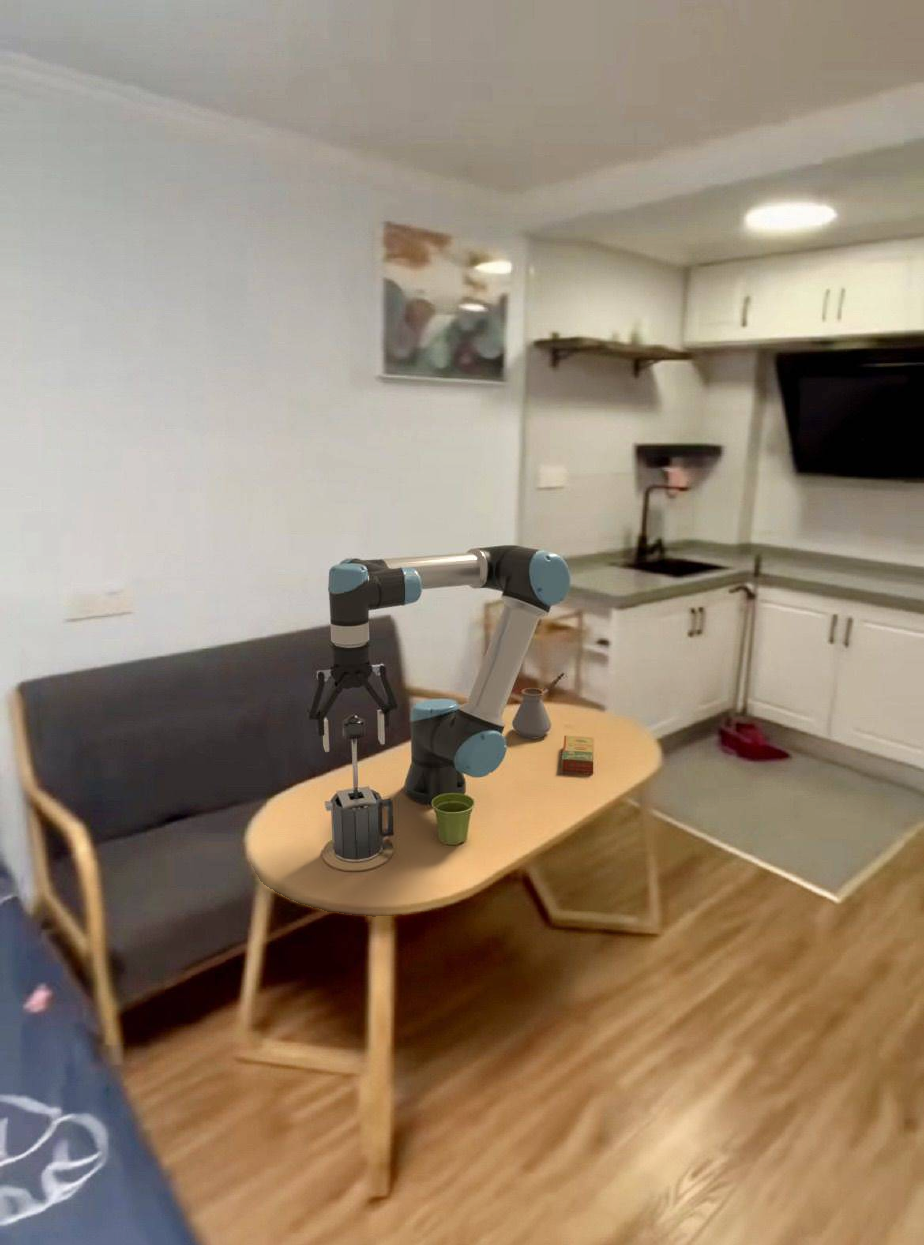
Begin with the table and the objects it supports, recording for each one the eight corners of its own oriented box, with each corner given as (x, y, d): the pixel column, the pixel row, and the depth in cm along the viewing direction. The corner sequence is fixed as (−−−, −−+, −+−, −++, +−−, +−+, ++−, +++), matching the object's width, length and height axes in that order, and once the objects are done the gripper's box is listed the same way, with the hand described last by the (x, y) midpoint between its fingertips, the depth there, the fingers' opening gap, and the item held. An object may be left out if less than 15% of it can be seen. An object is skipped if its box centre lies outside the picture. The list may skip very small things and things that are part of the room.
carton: (593, 750, 221) (594, 736, 220) (593, 775, 205) (594, 760, 204) (563, 748, 222) (564, 734, 221) (561, 773, 207) (561, 758, 206)
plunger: (369, 800, 171) (366, 707, 165) (376, 815, 164) (373, 719, 159) (337, 805, 168) (332, 711, 163) (343, 820, 162) (339, 723, 157)
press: (385, 829, 178) (383, 775, 175) (402, 864, 164) (401, 806, 161) (317, 840, 173) (314, 785, 170) (329, 877, 160) (326, 818, 156)
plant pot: (434, 826, 180) (434, 791, 177) (476, 828, 179) (476, 793, 176) (428, 848, 171) (428, 811, 168) (472, 850, 170) (472, 813, 167)
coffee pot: (534, 744, 224) (535, 694, 220) (503, 733, 232) (504, 684, 228) (578, 723, 239) (580, 676, 235) (548, 713, 247) (549, 668, 243)
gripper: (402, 632, 164) (404, 731, 170) (288, 642, 157) (294, 745, 162) (412, 642, 157) (413, 744, 163) (293, 653, 150) (299, 760, 155)
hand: (354, 745), depth 163 cm, fingers open, 11 cm apart
